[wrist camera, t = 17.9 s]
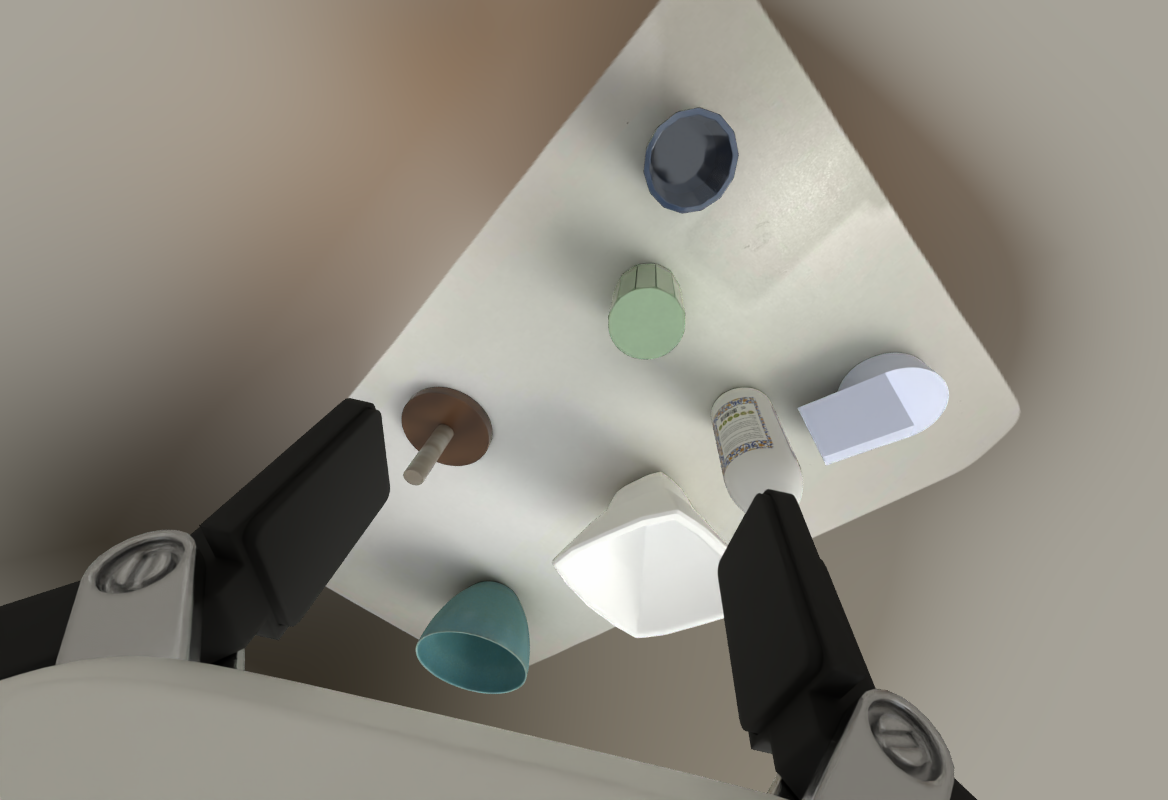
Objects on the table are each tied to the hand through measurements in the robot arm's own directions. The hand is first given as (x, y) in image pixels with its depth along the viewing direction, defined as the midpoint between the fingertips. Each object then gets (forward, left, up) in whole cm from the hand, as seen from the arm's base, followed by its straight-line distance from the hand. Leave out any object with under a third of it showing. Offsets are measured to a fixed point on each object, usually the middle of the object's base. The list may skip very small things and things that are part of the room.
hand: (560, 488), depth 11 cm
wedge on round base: (+30, +12, -36) cm, 49 cm away
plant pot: (+40, -54, -36) cm, 77 cm away
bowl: (+32, -16, -36) cm, 51 cm away
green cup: (+7, -2, -36) cm, 37 cm away
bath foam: (+25, 0, -36) cm, 44 cm away
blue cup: (-2, +7, -36) cm, 37 cm away
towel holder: (+8, -34, -36) cm, 50 cm away
